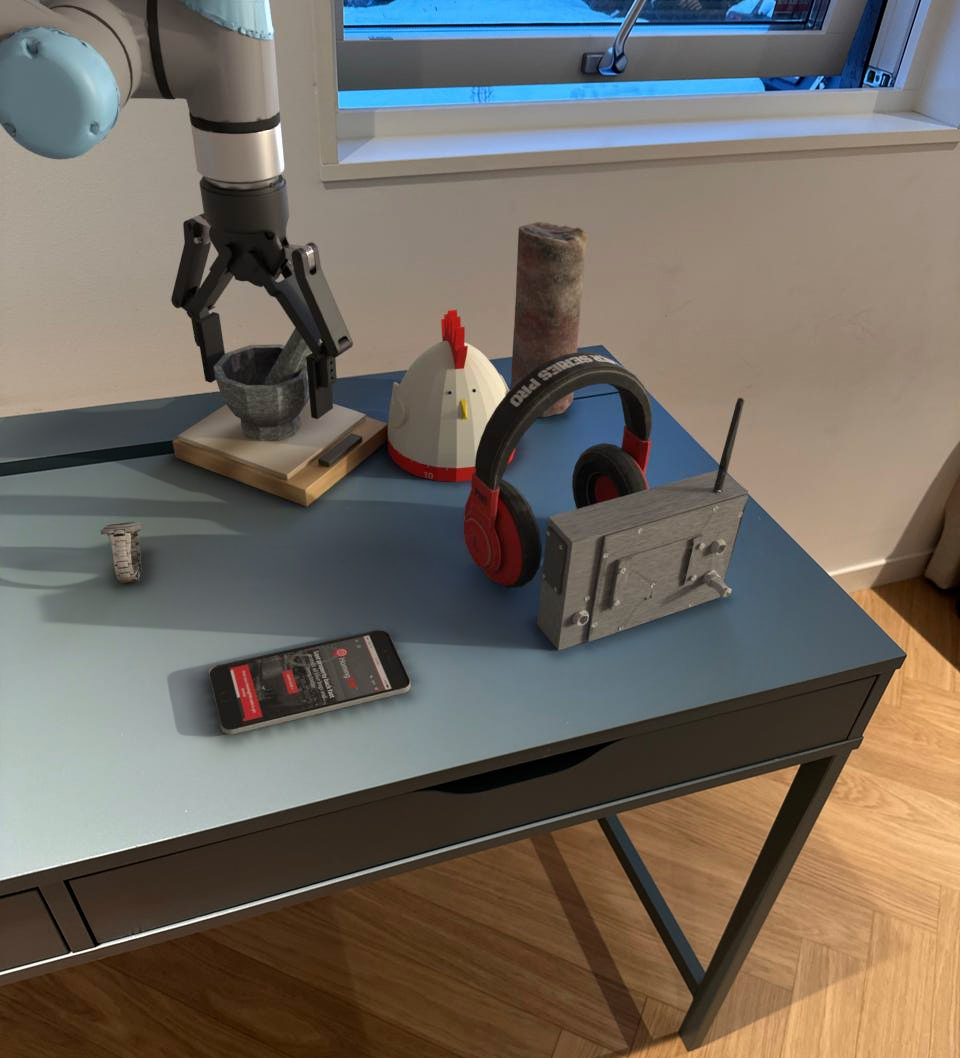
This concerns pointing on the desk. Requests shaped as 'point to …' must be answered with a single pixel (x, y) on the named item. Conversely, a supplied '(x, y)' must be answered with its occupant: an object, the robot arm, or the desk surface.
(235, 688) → the smartphone
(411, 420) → the kitchen timer
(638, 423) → the headphones
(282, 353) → the mortar and pestle
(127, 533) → the wristwatch
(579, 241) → the brown stone cylinder
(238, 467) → the scale
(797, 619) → the desk surface
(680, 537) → the electronic device
